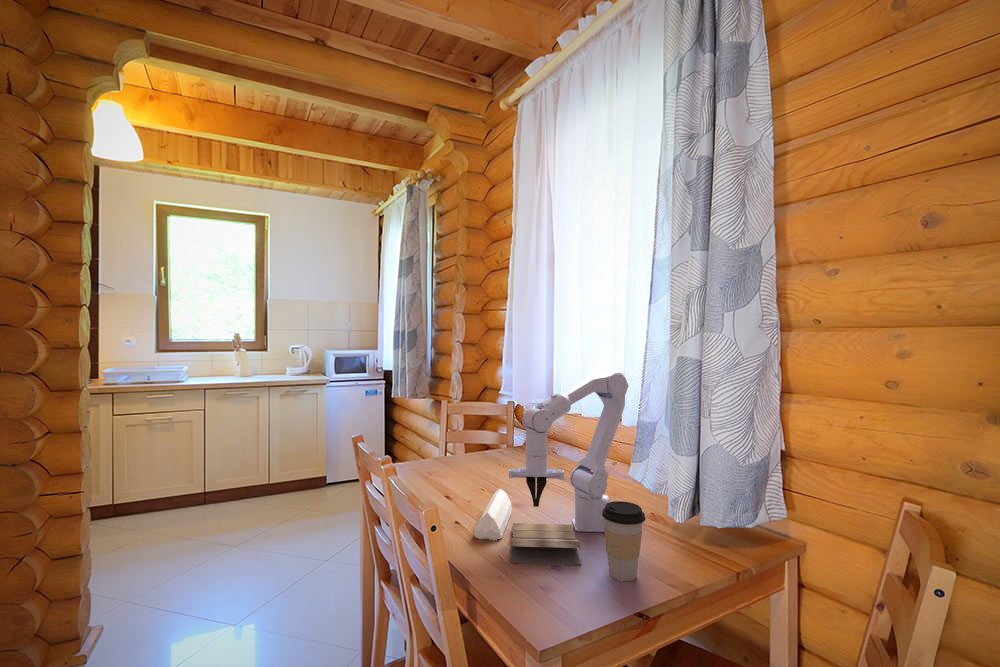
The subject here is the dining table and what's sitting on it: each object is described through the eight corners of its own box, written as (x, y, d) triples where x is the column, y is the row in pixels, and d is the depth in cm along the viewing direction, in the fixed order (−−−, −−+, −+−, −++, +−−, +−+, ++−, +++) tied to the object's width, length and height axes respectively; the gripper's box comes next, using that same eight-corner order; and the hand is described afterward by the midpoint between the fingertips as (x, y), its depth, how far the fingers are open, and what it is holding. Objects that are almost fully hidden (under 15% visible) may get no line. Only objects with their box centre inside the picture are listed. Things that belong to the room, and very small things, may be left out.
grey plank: (575, 546, 116) (575, 539, 117) (580, 548, 108) (580, 541, 109) (512, 544, 117) (512, 538, 118) (511, 546, 109) (512, 539, 109)
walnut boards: (571, 530, 126) (571, 524, 126) (575, 544, 117) (575, 539, 117) (512, 528, 127) (513, 523, 127) (512, 543, 118) (512, 537, 118)
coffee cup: (593, 574, 104) (593, 506, 104) (615, 560, 110) (616, 497, 110) (631, 590, 97) (631, 518, 97) (652, 574, 103) (653, 507, 104)
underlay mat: (571, 528, 128) (571, 527, 128) (581, 565, 107) (581, 564, 107) (512, 526, 129) (512, 525, 129) (510, 563, 108) (510, 562, 108)
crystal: (507, 530, 118) (519, 497, 142) (483, 514, 119) (499, 484, 143) (492, 554, 119) (507, 518, 142) (469, 537, 120) (487, 504, 143)
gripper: (562, 450, 126) (562, 500, 126) (509, 449, 127) (509, 499, 127) (565, 457, 119) (564, 510, 119) (508, 456, 120) (508, 508, 120)
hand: (536, 505), depth 122 cm, fingers closed
